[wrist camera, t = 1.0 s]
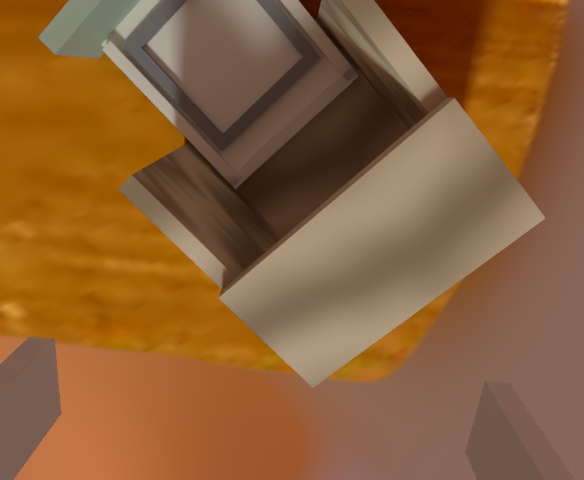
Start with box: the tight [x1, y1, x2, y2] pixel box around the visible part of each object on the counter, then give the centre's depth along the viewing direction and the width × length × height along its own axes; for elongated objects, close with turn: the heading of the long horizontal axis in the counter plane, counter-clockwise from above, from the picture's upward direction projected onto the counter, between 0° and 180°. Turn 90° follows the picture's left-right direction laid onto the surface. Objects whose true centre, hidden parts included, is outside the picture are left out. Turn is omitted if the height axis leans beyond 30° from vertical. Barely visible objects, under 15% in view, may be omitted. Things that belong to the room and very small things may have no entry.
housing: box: [118, 0, 545, 388], centre depth 27 cm, size 14×14×14 cm
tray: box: [38, 0, 359, 189], centre depth 29 cm, size 14×14×6 cm
